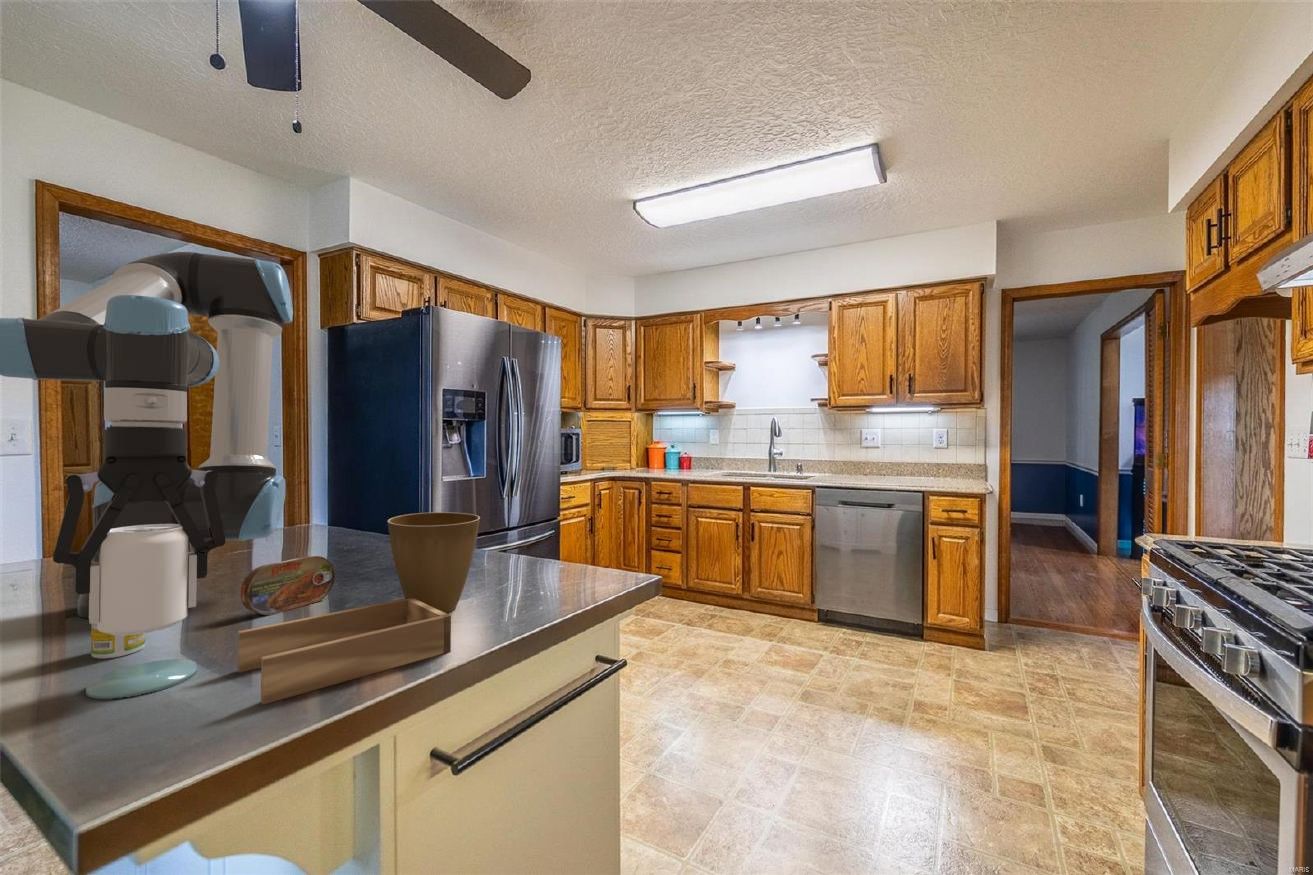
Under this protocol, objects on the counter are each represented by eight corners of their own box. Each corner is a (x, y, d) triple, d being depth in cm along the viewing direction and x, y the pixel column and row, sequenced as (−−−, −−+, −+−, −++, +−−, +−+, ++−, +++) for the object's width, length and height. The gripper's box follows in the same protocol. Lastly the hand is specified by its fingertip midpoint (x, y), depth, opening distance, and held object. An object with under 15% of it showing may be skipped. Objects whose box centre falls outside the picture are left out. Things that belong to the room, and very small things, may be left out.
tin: (248, 621, 91) (248, 569, 91) (236, 618, 92) (237, 567, 92) (336, 598, 105) (336, 552, 105) (325, 595, 106) (325, 551, 106)
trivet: (84, 680, 69) (84, 675, 69) (190, 657, 76) (190, 653, 76) (87, 708, 62) (87, 702, 62) (203, 680, 69) (203, 675, 69)
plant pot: (366, 616, 94) (367, 520, 94) (433, 594, 107) (434, 510, 107) (435, 629, 88) (436, 526, 88) (496, 603, 102) (497, 515, 102)
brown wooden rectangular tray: (237, 670, 72) (238, 631, 72) (410, 629, 88) (411, 597, 88) (263, 704, 63) (263, 659, 63) (450, 651, 79) (451, 615, 79)
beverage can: (133, 641, 64) (135, 534, 64) (78, 635, 65) (79, 532, 65) (204, 619, 72) (205, 524, 72) (153, 614, 73) (154, 522, 73)
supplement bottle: (144, 642, 81) (144, 574, 81) (146, 652, 78) (146, 581, 78) (91, 651, 78) (91, 581, 78) (90, 663, 74) (91, 588, 74)
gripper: (16, 422, 59) (12, 641, 58) (257, 427, 74) (255, 601, 74) (19, 423, 64) (16, 625, 64) (244, 427, 79) (242, 590, 79)
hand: (144, 612), depth 69 cm, fingers closed on beverage can, 8 cm apart
